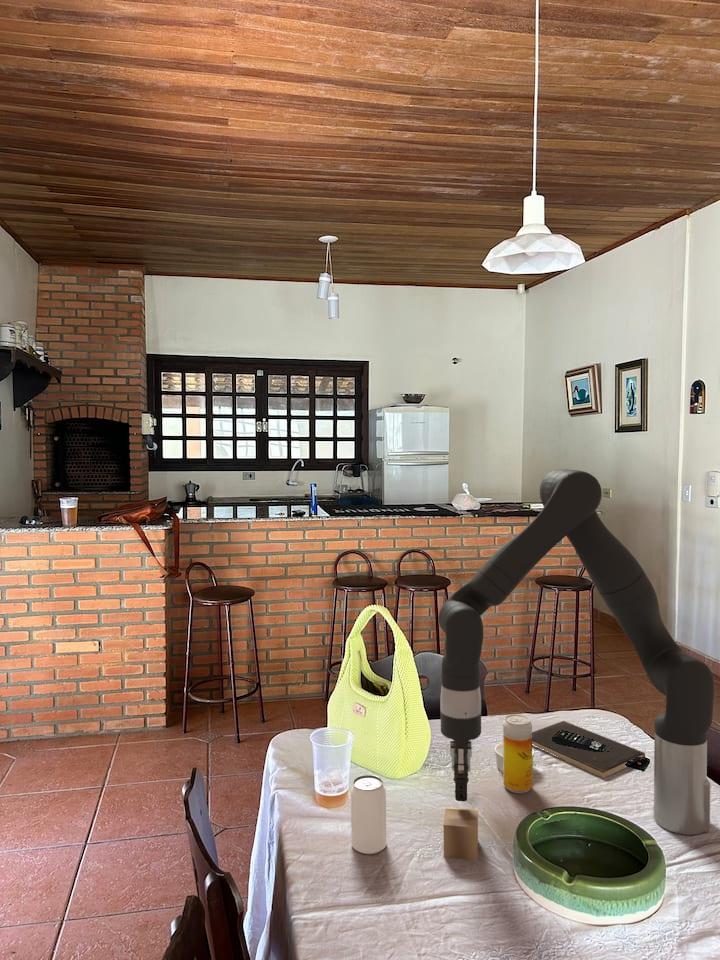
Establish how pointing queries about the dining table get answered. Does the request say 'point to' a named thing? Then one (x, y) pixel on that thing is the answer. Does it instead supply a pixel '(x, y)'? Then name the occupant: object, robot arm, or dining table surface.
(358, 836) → the can
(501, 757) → the ramekin
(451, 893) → the dining table surface
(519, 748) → the beer can
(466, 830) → the cube
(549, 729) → the hardcover book
